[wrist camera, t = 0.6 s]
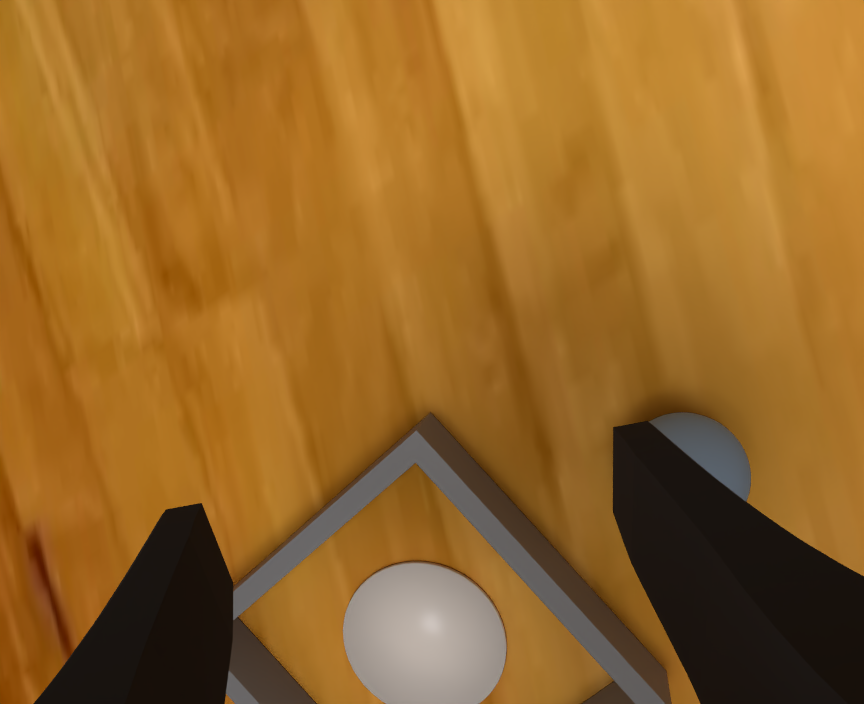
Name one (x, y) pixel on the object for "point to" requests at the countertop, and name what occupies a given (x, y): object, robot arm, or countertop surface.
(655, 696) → the grey square frame
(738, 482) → the ball
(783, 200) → the countertop surface
